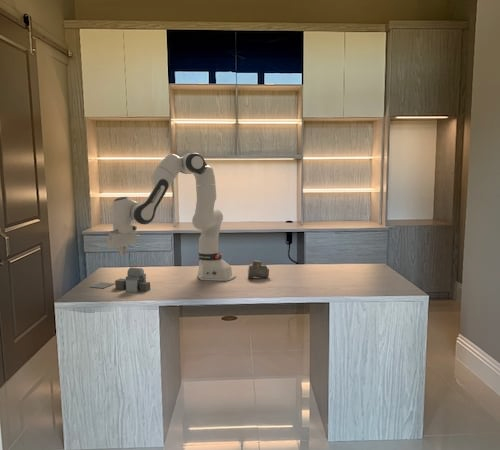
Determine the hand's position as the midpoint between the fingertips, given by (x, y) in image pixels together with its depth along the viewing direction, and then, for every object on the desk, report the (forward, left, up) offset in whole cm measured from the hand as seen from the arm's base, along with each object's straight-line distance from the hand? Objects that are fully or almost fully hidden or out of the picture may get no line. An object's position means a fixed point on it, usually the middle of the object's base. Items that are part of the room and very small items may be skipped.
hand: (122, 254), depth 230 cm
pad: (+15, 0, -18) cm, 23 cm away
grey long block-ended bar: (-5, 0, -18) cm, 19 cm away
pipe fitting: (-59, -43, -18) cm, 76 cm away
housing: (-7, 0, -18) cm, 19 cm away
